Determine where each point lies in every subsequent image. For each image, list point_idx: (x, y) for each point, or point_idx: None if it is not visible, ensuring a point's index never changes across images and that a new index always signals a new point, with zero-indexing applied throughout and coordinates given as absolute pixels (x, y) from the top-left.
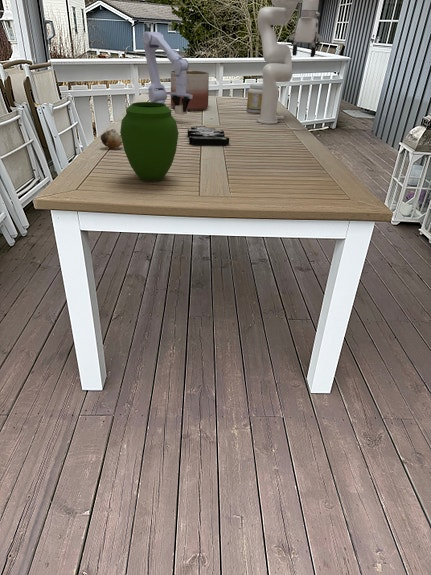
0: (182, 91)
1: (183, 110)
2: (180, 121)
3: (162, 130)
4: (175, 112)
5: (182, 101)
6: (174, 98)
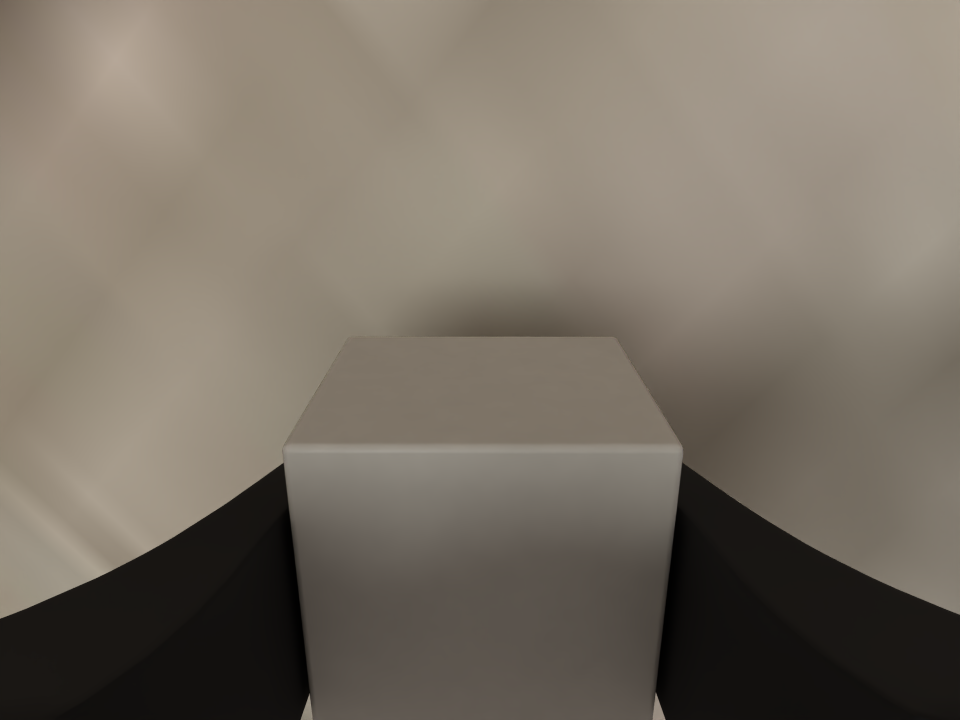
0: None
1: None
2: None
3: None
4: (606, 347)
5: (116, 647)
6: (905, 711)
